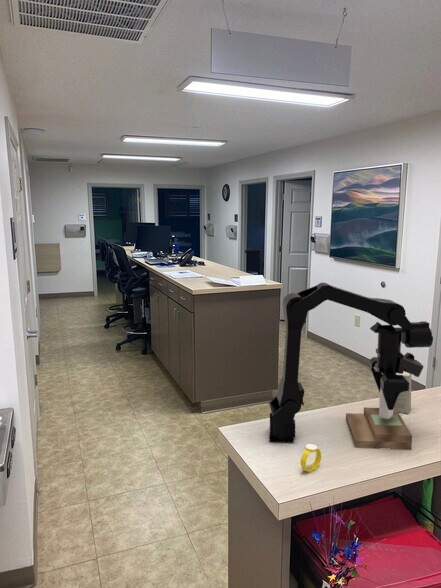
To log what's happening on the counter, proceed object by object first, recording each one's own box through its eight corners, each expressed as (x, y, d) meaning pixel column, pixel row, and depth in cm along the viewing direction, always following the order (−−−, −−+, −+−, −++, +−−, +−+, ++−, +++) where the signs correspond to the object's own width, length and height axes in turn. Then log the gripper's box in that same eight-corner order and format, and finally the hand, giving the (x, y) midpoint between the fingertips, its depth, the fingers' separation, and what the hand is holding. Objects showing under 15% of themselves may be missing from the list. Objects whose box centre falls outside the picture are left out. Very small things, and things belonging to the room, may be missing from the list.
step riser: (354, 447, 113) (355, 432, 113) (345, 419, 129) (346, 406, 128) (411, 449, 111) (412, 434, 111) (395, 421, 127) (395, 407, 126)
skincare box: (411, 409, 135) (412, 371, 132) (408, 414, 131) (410, 376, 129) (389, 405, 138) (390, 368, 136) (386, 410, 134) (387, 372, 132)
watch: (314, 463, 107) (315, 440, 106) (323, 468, 105) (324, 445, 104) (297, 471, 103) (299, 447, 103) (306, 476, 101) (308, 452, 101)
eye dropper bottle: (399, 416, 118) (401, 374, 116) (384, 420, 116) (386, 377, 114) (387, 410, 122) (388, 369, 120) (372, 414, 120) (374, 372, 118)
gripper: (433, 359, 105) (429, 419, 108) (410, 338, 124) (407, 390, 126) (385, 358, 107) (382, 417, 110) (369, 338, 125) (368, 389, 128)
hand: (386, 402), depth 118 cm, fingers closed on eye dropper bottle, 8 cm apart
